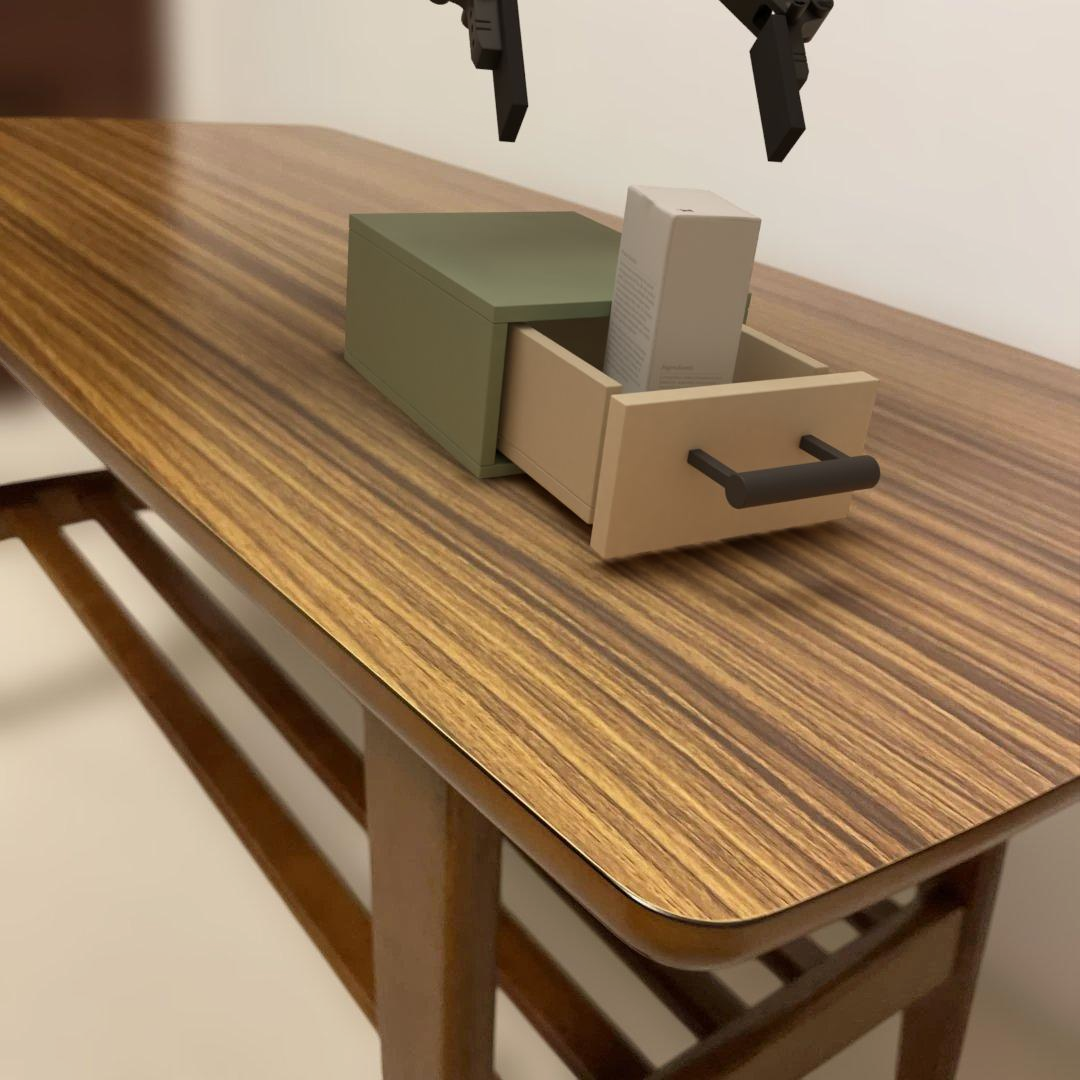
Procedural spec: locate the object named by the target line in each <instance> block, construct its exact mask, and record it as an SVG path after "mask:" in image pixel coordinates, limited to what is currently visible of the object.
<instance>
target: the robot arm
mask: <svg viewBox="0 0 1080 1080" xmlns="http://www.w3.org/2000/svg"><path fill="white" fill-rule="evenodd" d="M429 1H430V2H431V3H433V4H435V5H437V6H444V5H446V4H448V3H452V4H455V5H457V6H458V7H460V9H462V12H461V15H460V22H461V24H462V26H464V28H466V29H467V30H468V39H469V40H468V41H469V49H470V60H471V62H472V64H473V66H474V68H475V69H476V70H485V71H492V81H493V83H492V84H493V92H494V93H493V94H494V103H495V104H494V105H495V114H496V115H495V116H496V124H497V135H498V142H501V143H503V142H504V143H516V141H517V138H518V135H519V133H520V130H521V127H522V124H523V122H524V119H525V117H526V114H527V111H528V109H529V97H528V87H527V79H526V70H525V69H526V67H525V60H524V50H523V40H522V32H521V31H522V30H521V22H520V11H519V2H518V0H429ZM718 1H719V2H720V3H721V4H722V5H723V6H724V7H725V9H727V10H728V11H729V12H730V13H731V14H732V16H734V17H735V18H736V19H737V20H738V21H739V22H740V23H741V24H742V25H743V26H744V27H745V28H746V29H747V30H748V31H749V32H750V33H751V34H752V35H753V36H754V37H755V40H754V42H753V44H752V46H751V47H750V48H749V51H748V52H749V59H750V65H751V71H752V76H753V81H754V88H755V93H756V99H757V105H758V112H759V118H760V123H761V129H762V136H763V141H764V147H765V148H764V149H765V153H766V159H767V162H770V163H781V164H782V163H783V161H784V160H785V159H786V157H787V156H788V155H789V153H790V152H791V150H792V149H793V148H794V147H795V145H796V144H797V142H798V141H799V140H800V138H801V137H802V136H803V134H804V133H805V132H806V130H807V127H806V126H807V125H806V121H805V116H804V109H803V105H802V100H801V93H800V91H801V89H803V87H804V85H805V84H806V83H807V81H808V77H809V73H810V68H809V63H808V58H807V55H806V54H807V52H806V47H805V44H808V43H810V42H811V41H812V40H813V38H815V37H814V36H815V35H816V34H817V33H818V31H819V29H820V28H821V26H822V25H823V23H824V22H825V20H826V19H827V17H828V16H829V14H830V13H831V11H832V9H833V8H834V6H835V1H834V0H718Z"/></svg>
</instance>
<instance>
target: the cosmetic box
mask: <svg viewBox="0 0 1080 1080" xmlns="http://www.w3.org/2000/svg"><path fill="white" fill-rule="evenodd" d="M761 226H762V218H761V217H760V216H758V215H755V214H753V213H751V212H749V211H747V210H745V209H743V208H741V207H739V206H738V205H736V204H735V203H732V202H731V201H729V200H728V199H726V198H724V197H722V196H721V195H718V194H717V193H714V192H713V191H711V190H710V189H701V188H700V189H699V188H683V187H669V186H655V185H654V186H652V185H643V184H642V185H640V184H631V185H629V186H628V187H627V192H626V200H625V207H624V215H623V222H622V228H621V233H622V234H621V242H620V248H619V256H618V263H617V270H616V278H615V285H614V292H613V299H612V305H611V313H610V321H609V328H608V335H607V342H606V349H605V357H604V364H603V372H602V373H604V374H606V375H607V376H609V377H610V378H612V379H613V380H615V381H617V382H618V383H620V384H621V385H622V386H623V387H622V394H628V393H639V392H649V391H659V390H670V389H680V388H691V387H701V386H712V385H722V384H732V378H733V373H734V368H735V363H736V357H737V352H738V346H739V340H740V335H741V329H742V324H743V319H744V314H745V308H746V302H747V297H748V292H750V291H749V290H750V285H751V279H752V275H753V270H754V263H755V258H756V251H757V248H758V243H759V237H760V236H759V235H760V230H761Z"/></svg>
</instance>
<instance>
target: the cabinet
mask: <svg viewBox="0 0 1080 1080" xmlns="http://www.w3.org/2000/svg"><path fill="white" fill-rule="evenodd" d="M621 234H622V232H620V231H618V230H616V229H613V228H611V227H609V226H608V225H604V224H603V223H600V222H598V221H596V220H594V219H592V218H590V217H587V216H585V215H583V214H581V213H579V212H576V211H573V210H567V211H565V210H564V211H563V210H561V211H557V210H556V211H483V212H482V211H479V212H478V211H476V212H475V211H474V212H473V211H472V212H470V211H469V212H466V211H465V212H389V213H387V212H384V213H383V212H381V213H379V212H378V213H376V212H375V213H373V212H372V213H349V214H348V241H347V242H348V243H347V244H348V245H347V267H346V268H347V271H346V295H345V296H346V299H345V301H346V302H345V323H344V324H345V325H344V356H343V358H344V359H343V360H344V361H345V362H346V363H348V364H349V365H350V366H351V367H352V368H353V369H355V370H356V372H358V373H359V374H360V375H361V376H363V378H365V380H367V381H368V382H369V383H370V384H371V385H372V386H374V388H376V389H377V390H378V391H379V392H380V393H381V394H383V395H384V396H385V397H386V398H387V399H388V400H389V401H390V402H391V403H393V404H394V405H395V406H396V407H397V408H398V409H400V410H401V411H402V412H403V413H404V414H405V415H406V416H407V417H408V418H410V420H412V421H413V422H414V423H415V424H417V425H418V426H419V427H420V428H421V429H422V430H423V431H424V432H425V433H427V435H429V436H430V438H432V439H433V440H434V441H436V443H438V444H439V445H440V446H441V447H442V448H444V450H446V451H447V452H448V453H449V454H450V455H451V456H452V457H454V458H455V459H456V460H457V461H458V462H460V464H461V465H462V466H464V468H466V469H467V470H468V471H469V472H470V473H472V474H473V475H474V476H475V477H476V478H477V479H480V480H483V479H490V478H496V477H505V476H513V475H521V474H522V475H523V474H527V473H526V472H525V471H523V470H522V469H521V468H520V467H518V466H517V465H516V464H515V463H514V462H512V461H511V460H510V459H509V458H508V457H506V456H505V455H504V454H503V453H502V452H500V451H499V450H498V449H497V448H496V442H497V432H498V421H499V411H500V401H501V390H502V380H503V369H504V359H505V349H506V338H507V328H508V323H509V322H525V321H542V320H559V319H576V318H593V317H610V313H611V305H612V299H613V292H614V285H615V278H616V270H617V263H618V256H619V248H620V242H621ZM752 295H753V294H752V292H750V291H748V297H747V302H746V308H745V314H744V319H743V324H744V325H746V324H747V319H748V314H749V309H750V305H751V300H752ZM746 326H747V325H746Z"/></svg>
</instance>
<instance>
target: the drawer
mask: <svg viewBox="0 0 1080 1080" xmlns="http://www.w3.org/2000/svg"><path fill="white" fill-rule="evenodd" d="M609 321H610V317H593V318H576V319H559V320H542V321H525V322H509V323H508V328H507V338H506V349H505V359H504V369H503V380H502V390H501V401H500V411H499V421H498V432H497V442H496V448H497V449H498V450H499V451H500V452H502V453H503V454H504V455H505V456H506V457H508V458H509V459H510V460H511V461H512V462H514V463H515V464H516V465H517V466H518V467H520V468H521V469H522V470H523V471H525V472H526V473H525V474H526V475H528V476H529V477H530V478H532V479H533V480H534V481H535V482H536V483H537V484H539V485H540V486H541V487H542V488H544V489H545V490H546V491H547V492H548V493H550V494H551V495H552V496H553V497H555V498H556V499H557V500H558V501H559V502H561V503H562V504H563V505H564V506H566V507H567V508H568V509H569V510H570V511H571V512H572V513H574V514H575V515H576V516H578V517H579V518H580V519H581V520H582V521H584V522H585V524H588V525H592V529H591V535H590V536H591V537H590V544H589V547H590V548H591V549H592V550H593V551H594V552H596V553H597V555H599V556H600V557H601V558H602V559H604V560H606V559H614V558H619V557H623V556H625V557H626V556H631V555H636V554H641V553H642V554H643V553H648V552H653V551H660V550H665V549H672V548H677V547H682V546H683V547H684V546H688V545H695V544H701V543H706V542H713V541H717V540H723V539H730V538H737V537H742V536H748V535H753V534H759V533H765V532H770V531H771V532H772V531H776V530H777V531H778V530H782V529H789V528H795V527H799V526H800V527H801V526H805V525H811V524H812V525H813V524H817V523H824V522H828V521H830V522H831V521H835V520H842V519H847V517H848V514H849V510H850V506H851V502H852V497H853V493H854V492H857V491H863V490H869V489H872V488H875V487H876V486H877V485H878V484H879V481H880V480H881V479H880V478H881V468H880V465H879V462H878V461H877V459H875V457H873V456H872V455H869V454H863V453H864V452H863V451H864V449H865V448H864V447H865V443H866V439H867V436H868V431H869V427H870V422H871V418H872V414H873V410H874V407H875V401H876V398H877V394H878V389H879V385H880V378H878V377H876V376H873V375H871V374H869V373H867V372H865V371H863V370H860V371H847V372H838V373H829V369H830V367H829V365H827V364H825V363H822V362H821V361H819V360H817V359H815V358H813V357H810V356H809V355H807V354H805V353H803V352H800V351H799V350H797V349H794V348H792V347H791V346H788V345H786V344H785V343H784V342H781V341H779V340H777V339H774V338H772V337H770V336H768V335H766V334H765V333H763V332H761V331H758V330H756V329H754V328H752V327H750V326H748V325H744V324H742V329H741V335H740V340H739V346H738V352H737V357H736V363H735V368H734V373H733V378H732V384H722V385H712V386H701V387H691V388H680V389H670V390H659V391H649V392H639V393H628V394H622V387H623V386H622V385H621V384H620V383H618V382H617V381H615V380H613V379H612V378H610V377H609V376H607V375H606V374H604V373H602V372H603V364H604V357H605V349H606V342H607V335H608V328H609ZM828 373H829V374H828Z"/></svg>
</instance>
